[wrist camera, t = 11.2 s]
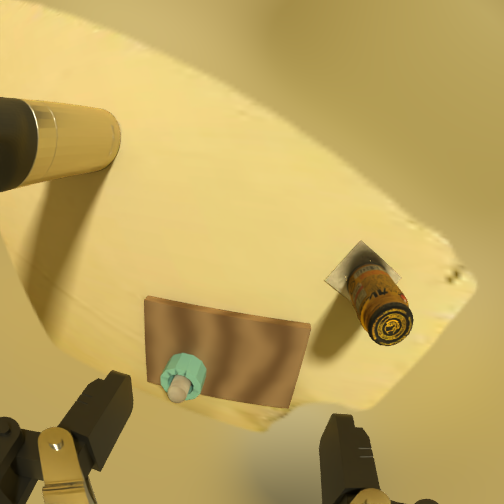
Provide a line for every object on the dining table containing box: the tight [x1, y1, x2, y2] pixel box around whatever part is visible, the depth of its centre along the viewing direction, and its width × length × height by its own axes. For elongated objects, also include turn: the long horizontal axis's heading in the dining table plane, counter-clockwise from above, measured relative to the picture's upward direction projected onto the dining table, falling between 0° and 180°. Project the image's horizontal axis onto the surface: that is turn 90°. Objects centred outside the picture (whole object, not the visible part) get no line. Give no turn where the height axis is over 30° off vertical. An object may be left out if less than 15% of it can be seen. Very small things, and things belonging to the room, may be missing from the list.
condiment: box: [325, 241, 413, 346], centre depth 37 cm, size 7×8×12 cm
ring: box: [160, 353, 207, 400], centre depth 46 cm, size 6×6×4 cm
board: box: [144, 296, 311, 408], centre depth 44 cm, size 24×16×9 cm, turn 82°
